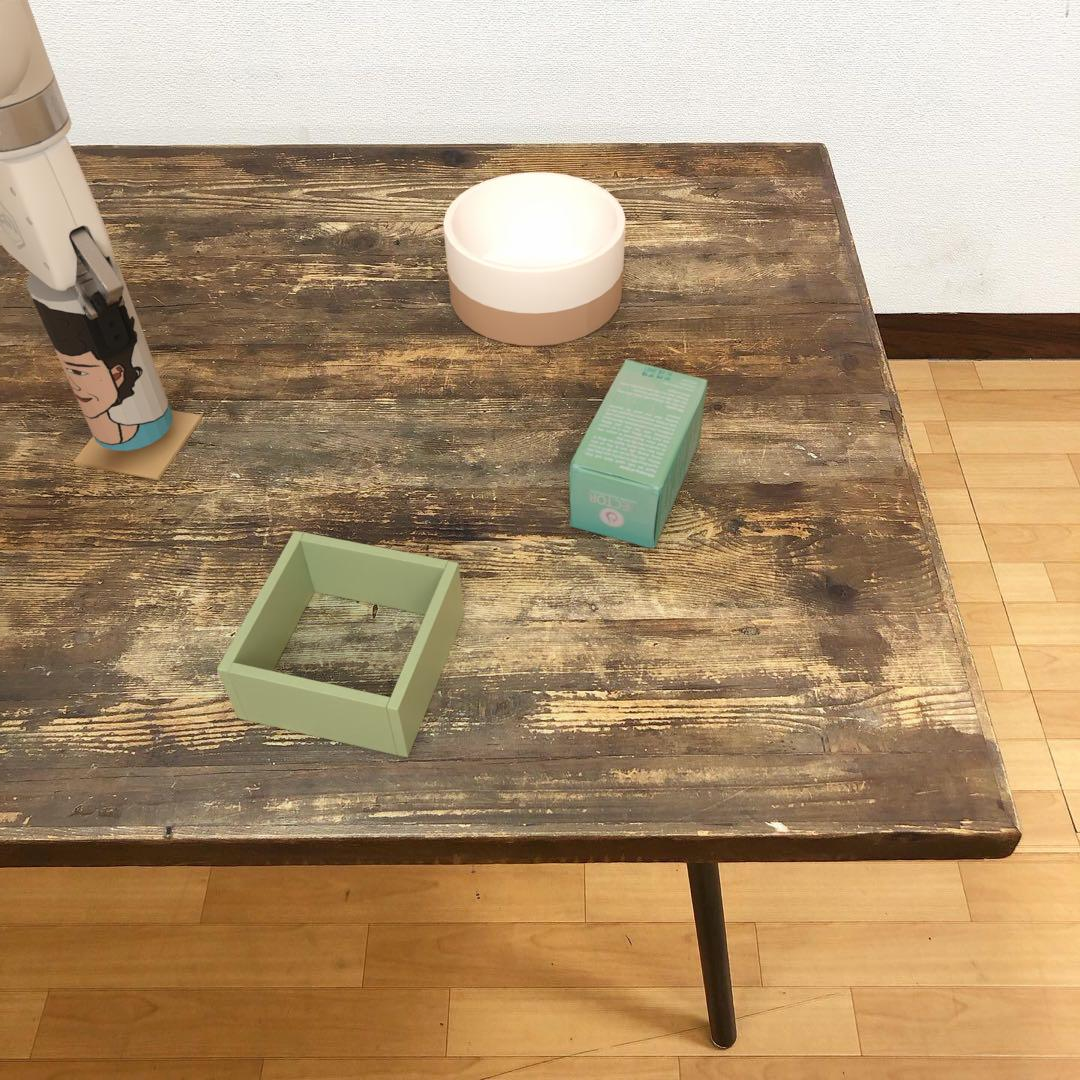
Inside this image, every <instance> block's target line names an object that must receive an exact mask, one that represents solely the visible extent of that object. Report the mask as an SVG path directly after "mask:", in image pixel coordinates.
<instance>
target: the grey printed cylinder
mask: <svg viewBox="0 0 1080 1080" xmlns="http://www.w3.org/2000/svg"><path fill="white" fill-rule="evenodd" d="M112 269H113V270H114V272H115V273H116V275H117V276H118V278H119V279H120V281H121V282H122V284H123V287H124V290H123V294H122V296H123V298H124V301H125V307H126V310H127V312H128V315H129V318H130V321H131V323H132V326H133V329H134V331H135V334H136V337H137V343H136V344H135V345H134V346H132V347H130V348H128V349H126V350H124V351H122V352H120V353H118V354H116V355H114V356H112V357H110V358H108V359H106V360H102V359H101V358H99V357H98V356H97V354H96V352H95V349H94V347H93V344H92V342H91V339H90V337H89V335H88V332H87V330H86V327H85V325H84V322H83V320H82V318H81V316H82V315H84V314H85V312H84V310H83V309H82V307H81V305H80V303H79V302H78V300H77V298H76V296H75V294H74V293H73V291H72V289H71V287H69V288H67V290H66V291H64V292H62V291H58V290H55V289H53V288H51V287H49V286H48V285H46V284H45V283H44V282H43V281H41V280H40V279H39V278H38V277H36V276H35V275H34V274H33V273H32V272H30V274H28V276H27V280H26V288H27V290H28V292H29V295H30V297H31V299H32V301H33V304H34V306H35V308H36V310H37V313H38V315H39V317H40V319H41V322H42V324H43V326H44V328H45V330H46V333H47V335H48V337H49V340H50V342H51V344H52V346H53V349H54V351H55V353H56V355H57V358H58V360H59V363H60V366H61V367H62V369H63V371H64V374H65V375H66V378H67V381H68V383H69V384H70V387H71V390H72V391H73V394H74V397H75V398H76V401H77V402H78V406H79V407H80V410H81V412H82V414H83V416H84V418H85V421H86V423H87V426H88V428H89V430H90V433H91V434H92V437H93V436H94V438H95V440H96V442H97V443H98V444H100V445H101V446H102V447H104V448H108V449H111V450H117V451H128V450H134V449H139V448H142V447H145V446H147V445H150V444H152V443H154V442H155V441H157V440H158V439H160V438H161V437H162V436H163V435H164V434H165V433H166V432H167V431H168V430H169V428H170V426H171V424H172V422H173V416H172V411H171V410H172V408H171V406H170V402H169V399H168V397H167V394H166V391H165V388H164V386H163V383H162V381H161V378H160V375H159V372H158V369H157V367H156V364H155V361H154V358H153V356H152V353H151V350H150V348H149V345H148V344H149V343H148V341H147V339H146V337H145V334H144V331H143V328H142V326H141V325H142V324H141V322H140V320H139V318H138V317H139V316H138V315H137V311H136V309H135V305H134V303H133V301H132V297H131V295H130V293H129V290H128V287H127V284H126V281H125V278H124V275H123V273H122V270H121V268H120V264H119V263H118V261H117V259H115V264H114V267H113V268H112ZM86 270H87V269H86V268H85V266H84V265H83V263H82V264H80V265H77V274H80V273H82V272H84V271H86ZM82 286H83V287H84V289H85V291H86V293H87V295H88V296H89V298H90V300H91V297H92V295H93V293H95V292H97V291H98V290H97V285H96V283H95V281H94V279H92V280H90V281H87V282H85V283H83V284H82Z"/></svg>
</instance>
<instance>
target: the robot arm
mask: <svg viewBox="0 0 1080 1080" xmlns="http://www.w3.org/2000/svg"><path fill="white" fill-rule="evenodd" d="M71 127H72V119H71V116H70V113H69V111H68V108H67V105H66V102H65V99H64V97H63V94H62V92H61V89H60V86H59V83H58V80H57V77H56V75H55V71H54V69H53V67H52V64H51V61H50V58H49V55H48V52H47V49H46V47H45V44H44V41H43V39H42V36H41V32H40V30H39V28H38V25H37V22H36V19H35V17H34V13H33V10H32V8H31V5H30V3H29V0H0V245H1V246H2V247H3V249H4V250H5V251H6V252H7V253H8V254H9V255H10V256H11V257H13V258H14V259H15V260H16V261H17V262H18V263H20V265H22V266H23V267H24V268H25V269H27V270H28V271H29V272H30V273H31V272H32V273H33V274H34V275H35V276H36V277H38V278H39V279H40V280H41V281H43V282H44V283H45V284H46V285H48V286H49V287H51V288H53V289H55V290H58V291H62V292H64V291H66V290H67V288H69V287H71V289H72V291H73V293H74V294H75V296H76V298H77V300H78V302H79V303H80V305H81V307H82V309H83V310H84V312H85V314H84V315H82V316H81V318H82V320H83V322H84V325H85V327H86V330H87V332H88V335H89V337H90V339H91V342H92V344H93V347H94V349H95V352H96V354H97V356H98V357H99V358H101V359H102V360H106V359H108V358H110V357H112V356H114V355H116V354H118V353H120V352H122V351H124V350H126V349H128V348H130V347H132V346H134V345H135V344H136V343H137V337H136V334H135V331H134V329H133V326H132V323H131V321H130V318H129V315H128V312H127V310H126V307H125V301H124V298H123V296H122V294H123V290H124V287H123V284H122V282H121V281H120V279H119V278H118V276H117V275H116V273H115V272H114V270H113V269H112V268H113V267H114V264H115V260H116V256H115V251H114V248H113V245H112V242H111V238H110V236H109V232H108V230H107V227H106V225H105V221H104V220H103V217H102V215H101V212H100V209H99V207H98V204H97V202H96V200H95V197H94V195H93V192H92V190H91V188H90V186H89V183H88V182H87V179H86V176H85V174H84V172H83V170H82V168H81V164H80V163H79V161H78V159H77V157H76V155H75V152H74V150H73V148H72V146H71V144H70V142H69V140H68V138H67V136H66V135H68V133H69V132H70V130H71ZM82 263H83V265H84V266H85V268H86V269H87V270H86V271H84V272H82V273H80V274H77V265H80V264H82ZM92 279H94V281H95V283H96V285H97V290H98V291H97V292H95V293H93V295H92V297H91V300H90V298H89V296H88V295H87V293H86V291H85V289H84V287H83V286H82V284H83V283H85V282H87V281H90V280H92Z"/></svg>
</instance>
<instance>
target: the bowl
mask: <svg viewBox="0 0 1080 1080" xmlns="http://www.w3.org/2000/svg"><path fill="white" fill-rule="evenodd" d="M626 225H627V218H626V216H625V212H624V208H623V207H622V205H621V204H620V202H619V201H618V199H617V198H616V197H615V196H613V194H611V193H610V191H608V190H606V189H605V188H604V187H601V186H600V185H598V184H596V183H594V182H592V181H589V180H586V179H584V178H581V177H577V176H573V175H569V174H566V173H565V174H564V173H557V172H550V171H549V172H544V171H531V172H530V171H529V172H527V171H526V172H516V173H511V174H510V173H509V174H505V175H500V176H496V177H493V178H489V179H486V180H484V181H482V182H480V183H477V184H475V185H473V186H470V187H469V188H468V189H466V190H464V191H463V192H462V193H460V194H459V195H457V197H456V198H455V199H454V200H453V201H452V202H451V203H450V205H449V206H448V208H447V210H446V211H445V214H444V217H443V221H442V227H443V238H444V248H445V249H444V250H445V258H446V269H447V274H448V287H449V295H450V304H451V306H452V308H453V311H454V313H455V315H456V316H457V317H458V318H459V319H460V321H461V322H462V323H463V324H464V325H465V326H467V327H468V328H469V329H471V330H472V331H473V332H475V333H477V334H479V335H481V336H483V337H485V338H488V339H491V340H493V341H496V342H500V343H504V344H510V345H516V346H524V347H525V346H526V347H527V346H528V347H541V346H555V345H559V344H564V343H568V342H572V341H576V340H579V339H580V338H584V337H586V336H588V335H590V334H592V333H593V332H596V331H597V330H599V329H601V327H603V326H605V324H606V323H608V322H609V321H610V320H611V319H612V317H613V316H614V315H615V314H616V313H617V311H618V309H619V306H620V304H621V302H622V299H623V298H622V297H623V296H622V295H623V280H624V279H623V278H624V277H623V276H624V266H625V265H624V264H625V263H624V262H625V245H626V244H625V243H626V227H627V226H626Z"/></svg>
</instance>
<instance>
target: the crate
mask: <svg viewBox="0 0 1080 1080" xmlns="http://www.w3.org/2000/svg"><path fill="white" fill-rule="evenodd" d="M460 573H461V571H460V563H459V562H457V561H451V560H448V559H443V558H438V557H431V556H428V555H422V554H417V553H412V552H406V551H401V550H397V549H392V548H386V547H380V546H375V545H372V544H371V545H370V544H366V543H361V542H356V541H350V540H345V539H340V538H335V537H329V536H324V535H321V534H314V533H309V532H303V531H298V530H293V532H292V534H291V536H290V537H289V539H288V542H287V543H286V544H285V546H284V549H283V550H282V552H281V554H280V555H279V558H278V559H277V561H276V563H275V564H274V566H273V567H272V570H271V572H270V573H269V574H268V576H267V579H266V581H265V582H264V584H263V586H262V588H261V590H260V591H259V593H258V595H257V596H256V599H255V600H254V602H253V604H252V605H251V607H250V609H249V611H248V613H246V616H245V618H244V620H243V621H242V623H241V625H240V627H239V629H238V631H237V632H236V633H235V636H234V637H233V639H232V641H231V643H230V644H229V647H228V649H227V650H226V652H225V653H224V655H223V657H222V659H221V661H220V663H219V664H218V666H217V668H216V670H217V673H218V676H219V677H220V680H221V682H222V685H223V687H224V689H225V692H226V694H227V696H228V699H229V702H230V703H231V706H232V708H233V710H234V713H235V716H236V717H237V719H240V720H244V721H248V722H251V723H257V724H261V725H264V726H265V725H266V726H269V727H274V728H278V729H281V730H282V729H283V730H286V731H290V732H294V733H299V734H304V735H306V736H307V735H308V736H312V737H316V738H321V739H325V740H330V741H334V742H338V743H342V744H346V745H351V746H356V747H359V748H363V749H369V750H371V751H372V750H373V751H378V752H381V753H385V754H389V755H394V756H399V757H403V758H409V756H410V754H411V751H412V748H413V747H414V744H415V741H416V739H417V737H418V734H419V731H420V728H421V726H422V724H423V721H424V718H425V715H426V713H427V711H428V708H429V705H430V703H431V701H432V698H433V696H434V693H435V691H436V689H437V685H438V683H439V680H440V677H441V675H442V672H443V670H444V667H445V665H446V662H447V660H448V657H449V655H450V652H451V650H452V647H453V645H454V642H455V641H456V640H455V639H456V637H457V635H458V632H459V629H460V627H461V624H462V621H463V619H464V617H465V607H464V599H463V591H462V582H461V581H462V580H461V574H460ZM314 593H317V594H323V595H326V596H333V597H338V598H342V599H347V600H352V601H357V602H362V603H365V604H371V605H377V606H381V607H385V608H390V609H396V610H401V611H406V612H410V613H414V614H419V615H424V617H423V619H422V622H421V624H420V627H419V629H418V631H417V634H416V636H415V638H414V640H413V643H412V645H411V647H410V650H409V653H408V655H407V657H406V659H405V661H404V665H403V666H402V669H401V672H400V674H399V676H398V679H397V681H396V683H395V686H394V688H393V690H392V693H391V695H390V696H386V695H382V694H377V693H372V692H369V691H363V690H359V689H356V688H350V687H346V686H341V685H337V684H333V683H328V682H324V681H318V680H315V679H310V678H305V677H302V676H296V675H291V674H287V673H283V672H278V671H274V670H275V668H276V666H277V665H278V662H279V660H280V659H281V657H282V655H283V653H284V651H285V649H286V647H287V644H289V641H290V639H291V638H292V635H293V634H294V632H295V629H296V628H297V627H298V624H299V622H300V620H301V618H302V616H303V614H304V613H305V610H306V608H307V606H308V605H309V603H310V601H311V598H312V597H313V595H314Z"/></svg>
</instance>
